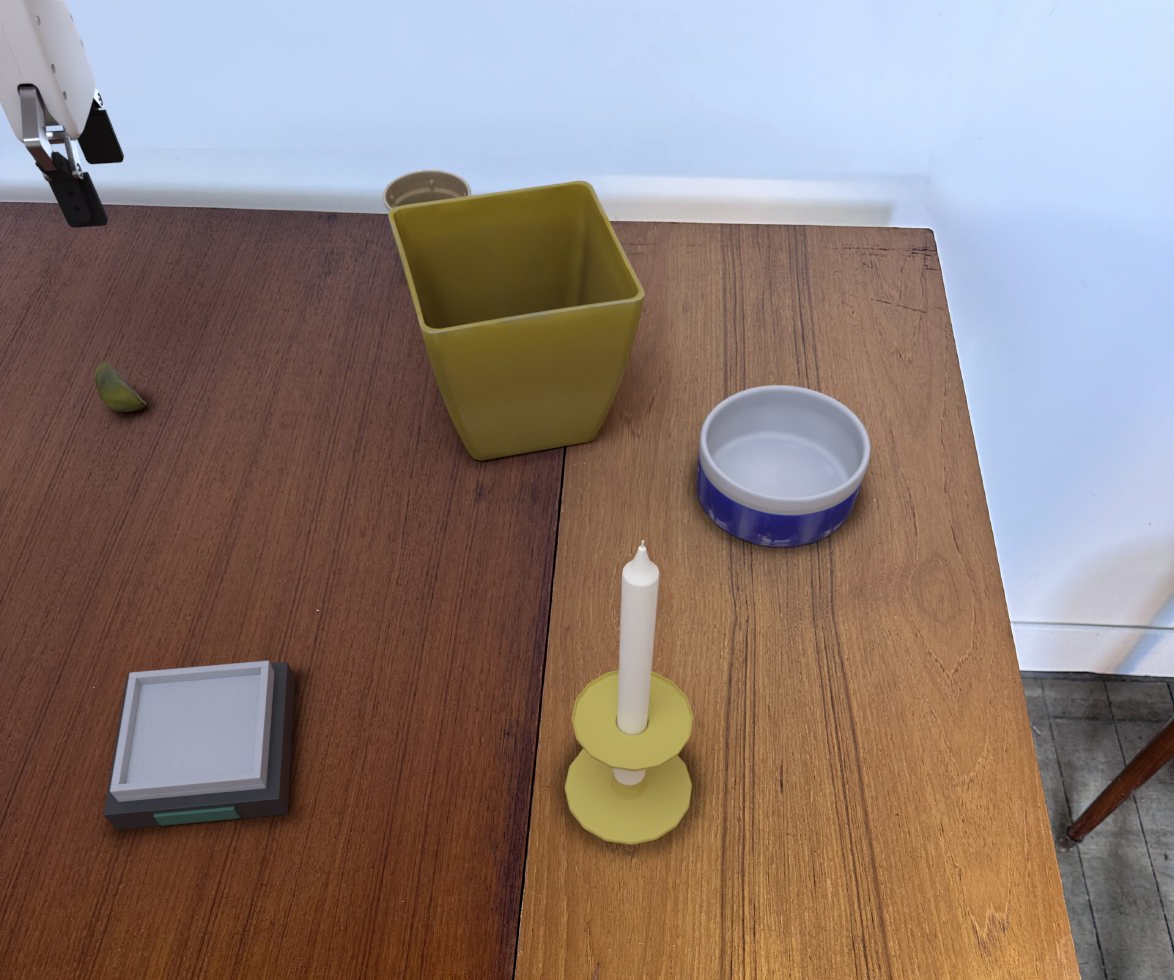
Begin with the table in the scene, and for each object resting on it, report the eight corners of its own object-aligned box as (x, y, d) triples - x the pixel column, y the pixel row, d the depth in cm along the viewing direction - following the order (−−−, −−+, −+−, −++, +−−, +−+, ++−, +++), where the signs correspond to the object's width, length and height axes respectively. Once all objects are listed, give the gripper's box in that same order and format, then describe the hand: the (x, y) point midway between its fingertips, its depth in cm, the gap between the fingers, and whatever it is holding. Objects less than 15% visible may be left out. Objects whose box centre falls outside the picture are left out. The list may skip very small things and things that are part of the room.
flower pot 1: (493, 258, 112) (486, 180, 104) (454, 304, 108) (444, 226, 100) (422, 239, 114) (410, 161, 107) (381, 283, 110) (365, 205, 102)
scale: (116, 833, 74) (93, 807, 71) (139, 693, 81) (118, 663, 78) (287, 817, 75) (272, 791, 72) (295, 679, 82) (282, 649, 78)
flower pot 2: (589, 338, 104) (589, 175, 90) (640, 456, 95) (648, 295, 81) (415, 369, 102) (385, 206, 88) (449, 493, 93) (422, 334, 78)
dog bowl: (862, 553, 88) (878, 503, 83) (693, 546, 89) (699, 496, 84) (849, 439, 96) (864, 386, 91) (695, 433, 97) (700, 381, 92)
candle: (592, 719, 79) (590, 458, 56) (708, 756, 78) (757, 502, 54) (544, 820, 75) (522, 580, 52) (667, 862, 73) (701, 633, 50)
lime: (121, 390, 101) (100, 347, 96) (162, 399, 100) (142, 356, 96) (97, 417, 99) (74, 375, 94) (139, 427, 98) (118, 385, 94)
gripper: (-37, -103, 73) (70, 142, 88) (-94, 2, 64) (35, 254, 79) (65, -108, 73) (154, 137, 88) (22, -5, 64) (129, 248, 79)
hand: (98, 192), depth 83 cm, fingers open, 9 cm apart
